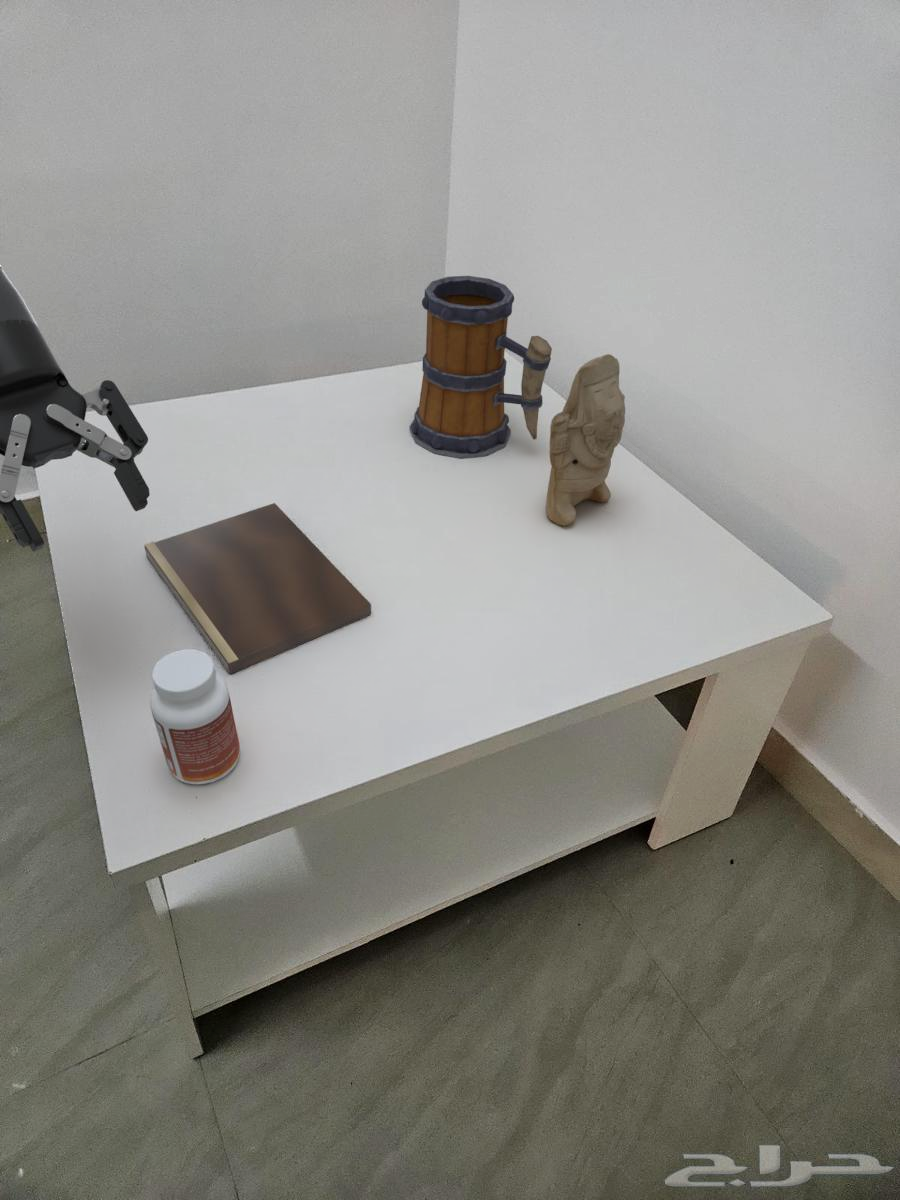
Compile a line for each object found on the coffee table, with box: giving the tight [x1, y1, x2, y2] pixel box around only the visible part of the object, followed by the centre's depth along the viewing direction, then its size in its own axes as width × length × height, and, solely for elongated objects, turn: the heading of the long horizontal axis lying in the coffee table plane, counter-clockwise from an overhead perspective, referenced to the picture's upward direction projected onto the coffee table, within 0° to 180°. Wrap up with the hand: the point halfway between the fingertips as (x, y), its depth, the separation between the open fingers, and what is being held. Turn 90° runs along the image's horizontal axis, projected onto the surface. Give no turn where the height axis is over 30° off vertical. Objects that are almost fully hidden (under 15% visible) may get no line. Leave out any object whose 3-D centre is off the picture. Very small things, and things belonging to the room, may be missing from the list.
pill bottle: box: [149, 648, 241, 785], centre depth 67 cm, size 6×6×11 cm
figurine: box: [545, 353, 626, 527], centre depth 96 cm, size 13×7×20 cm, turn 131°
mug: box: [408, 275, 553, 459], centre depth 109 cm, size 19×14×20 cm
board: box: [143, 502, 372, 675], centre depth 88 cm, size 16×22×2 cm
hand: (92, 527), depth 65 cm, fingers open, 8 cm apart
